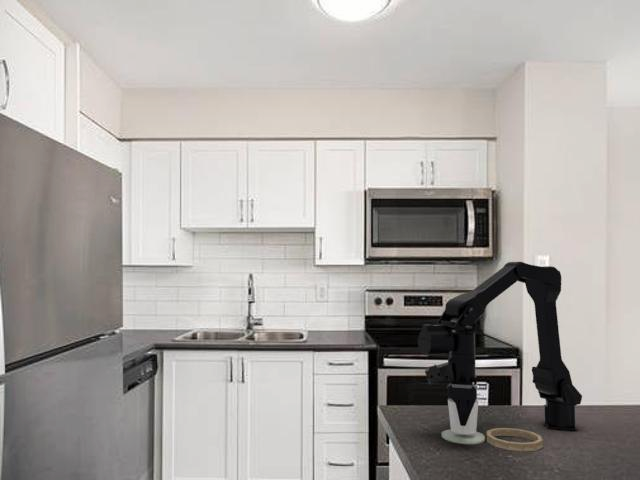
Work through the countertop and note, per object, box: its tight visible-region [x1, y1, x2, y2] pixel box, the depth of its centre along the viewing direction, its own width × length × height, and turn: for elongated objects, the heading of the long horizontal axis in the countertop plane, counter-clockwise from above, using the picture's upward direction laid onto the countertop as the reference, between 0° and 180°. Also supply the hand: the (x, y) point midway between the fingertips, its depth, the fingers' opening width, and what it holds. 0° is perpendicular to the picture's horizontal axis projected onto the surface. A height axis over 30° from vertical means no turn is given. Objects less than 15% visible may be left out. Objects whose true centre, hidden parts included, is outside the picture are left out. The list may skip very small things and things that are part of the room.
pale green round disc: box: [441, 428, 486, 445], centre depth 120 cm, size 10×10×1 cm
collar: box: [486, 427, 544, 452], centre depth 116 cm, size 12×12×2 cm
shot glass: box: [447, 397, 479, 434], centre depth 120 cm, size 7×7×7 cm
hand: (463, 421), depth 120 cm, fingers closed on shot glass, 6 cm apart
